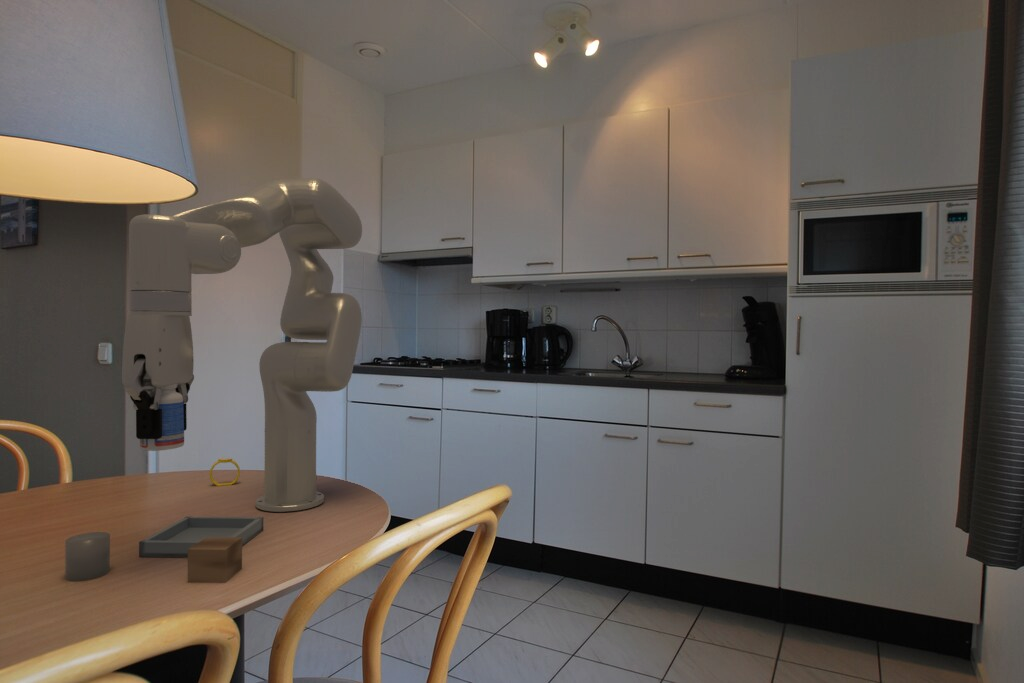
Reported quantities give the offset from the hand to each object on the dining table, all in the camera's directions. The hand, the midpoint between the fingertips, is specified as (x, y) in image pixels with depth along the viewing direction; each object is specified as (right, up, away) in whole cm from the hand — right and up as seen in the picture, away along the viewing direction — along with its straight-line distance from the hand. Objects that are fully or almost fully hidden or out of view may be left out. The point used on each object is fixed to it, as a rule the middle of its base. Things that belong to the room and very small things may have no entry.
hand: (162, 433), depth 86 cm
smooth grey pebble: (-9, -19, -2) cm, 21 cm away
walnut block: (+9, -19, -2) cm, 21 cm away
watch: (-14, -19, +49) cm, 54 cm away
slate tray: (+1, -19, +11) cm, 22 cm away
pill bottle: (0, -2, 0) cm, 2 cm away
